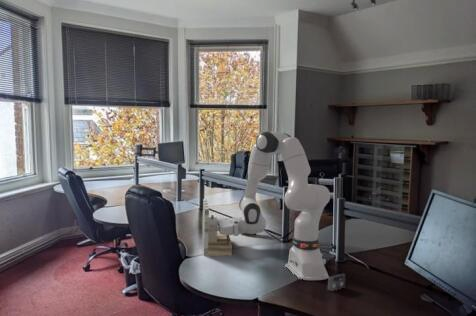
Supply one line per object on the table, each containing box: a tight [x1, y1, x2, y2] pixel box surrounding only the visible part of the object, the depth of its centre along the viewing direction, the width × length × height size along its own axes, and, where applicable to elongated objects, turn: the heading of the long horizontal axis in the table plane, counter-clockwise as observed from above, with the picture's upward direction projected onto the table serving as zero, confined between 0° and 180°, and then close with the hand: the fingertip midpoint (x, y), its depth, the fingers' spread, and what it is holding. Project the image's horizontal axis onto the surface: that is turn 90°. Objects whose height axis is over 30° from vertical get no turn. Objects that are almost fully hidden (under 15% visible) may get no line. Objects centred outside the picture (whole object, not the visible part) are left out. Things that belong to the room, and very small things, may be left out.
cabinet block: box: [208, 214, 218, 242], centre depth 197 cm, size 5×5×14 cm
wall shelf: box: [202, 198, 233, 257], centre depth 197 cm, size 24×14×24 cm, turn 7°
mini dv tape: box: [326, 273, 347, 292], centre depth 152 cm, size 8×2×6 cm, turn 118°
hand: (209, 225), depth 197 cm, fingers open, 8 cm apart
